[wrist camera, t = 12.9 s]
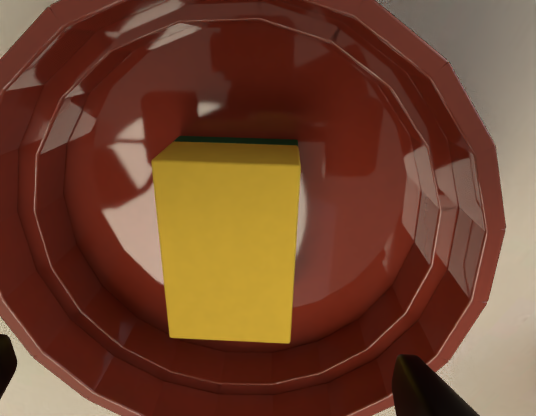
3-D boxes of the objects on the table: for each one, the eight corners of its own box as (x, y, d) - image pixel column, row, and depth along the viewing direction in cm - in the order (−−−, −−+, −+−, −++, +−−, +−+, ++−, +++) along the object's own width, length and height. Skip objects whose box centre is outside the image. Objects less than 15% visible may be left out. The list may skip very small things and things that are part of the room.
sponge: (289, 290, 17) (290, 344, 14) (190, 285, 17) (168, 338, 14) (297, 139, 14) (301, 165, 11) (179, 135, 15) (149, 160, 11)
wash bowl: (220, 406, 21) (204, 493, 17) (-38, 175, 16) (-146, 219, 12) (515, 248, 17) (591, 316, 12) (280, -146, 12) (277, -250, 7)
